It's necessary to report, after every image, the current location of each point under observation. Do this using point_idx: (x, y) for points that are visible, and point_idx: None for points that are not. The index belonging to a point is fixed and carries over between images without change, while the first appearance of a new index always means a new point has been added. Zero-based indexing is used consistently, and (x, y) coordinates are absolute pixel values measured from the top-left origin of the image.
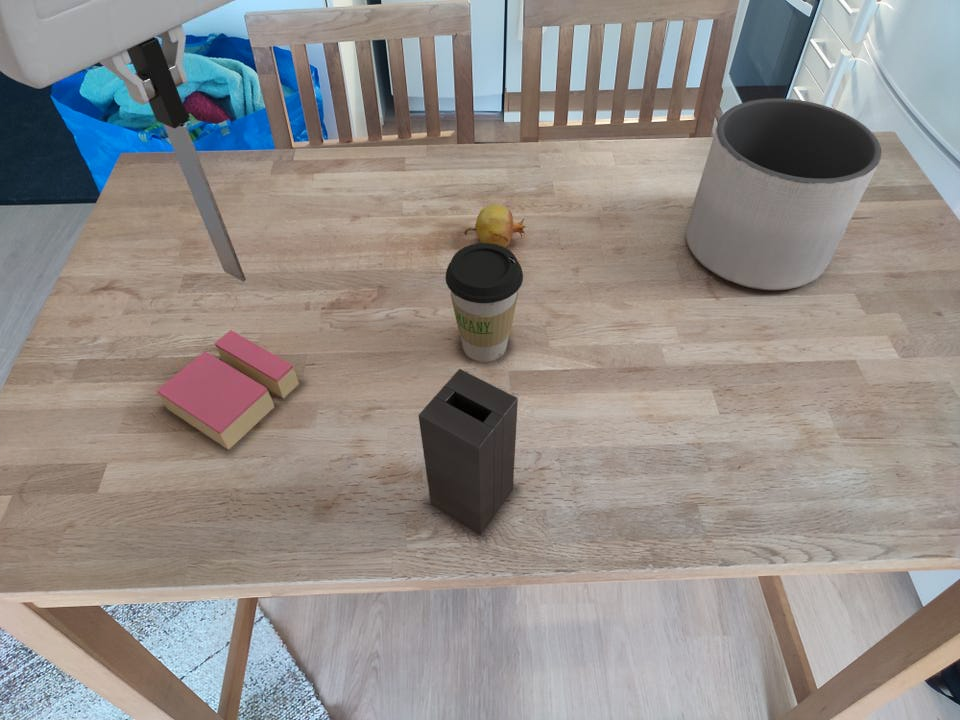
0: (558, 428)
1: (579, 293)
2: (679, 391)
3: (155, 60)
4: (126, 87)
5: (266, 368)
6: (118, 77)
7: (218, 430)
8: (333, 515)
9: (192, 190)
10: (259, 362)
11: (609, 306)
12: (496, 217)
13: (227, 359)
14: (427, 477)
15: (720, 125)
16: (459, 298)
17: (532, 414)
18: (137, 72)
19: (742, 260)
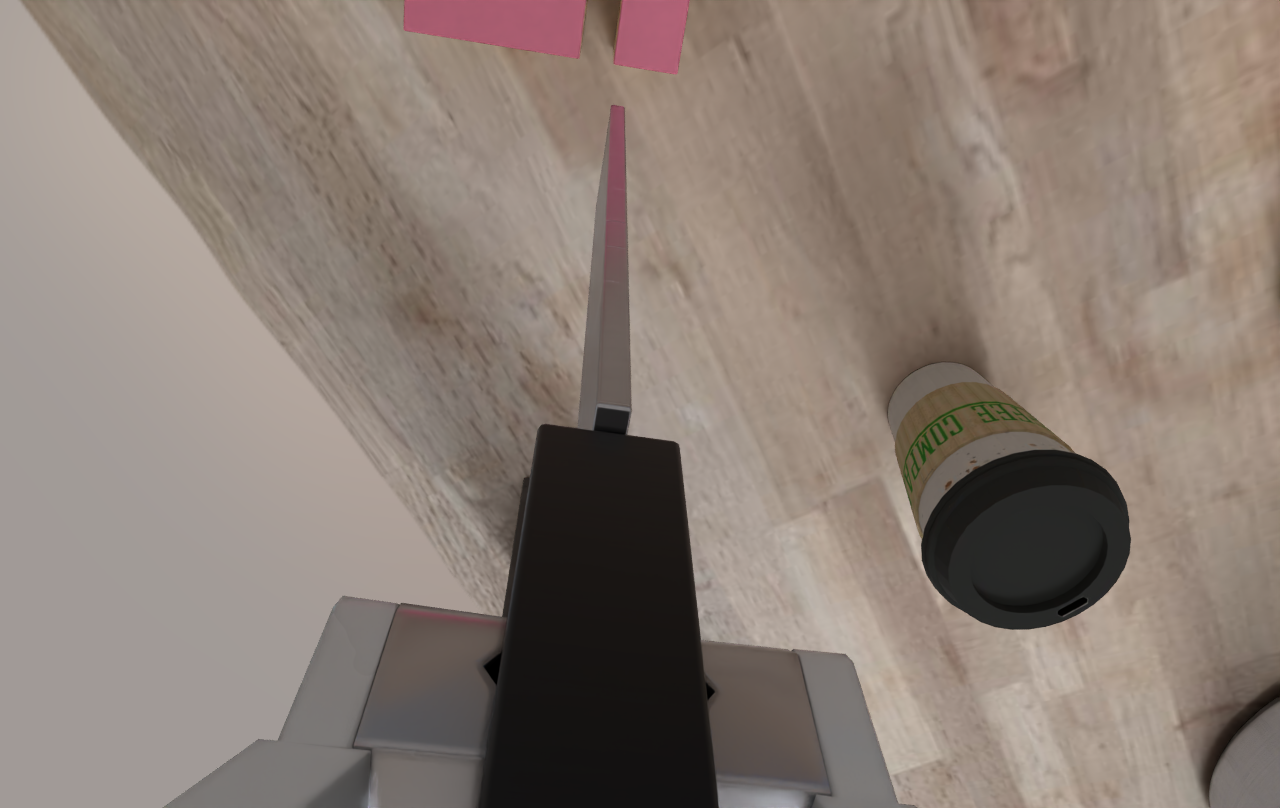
0: (773, 594)
1: (1151, 521)
2: (923, 723)
3: None
4: (311, 663)
5: (635, 11)
6: (223, 767)
7: (405, 27)
8: (414, 336)
9: (602, 232)
10: None
11: (1119, 581)
12: None
13: None
14: (514, 540)
15: None
16: (937, 501)
17: (787, 549)
18: (482, 758)
19: (1256, 805)
